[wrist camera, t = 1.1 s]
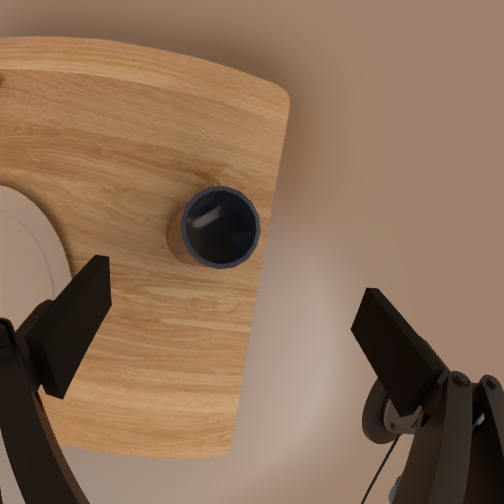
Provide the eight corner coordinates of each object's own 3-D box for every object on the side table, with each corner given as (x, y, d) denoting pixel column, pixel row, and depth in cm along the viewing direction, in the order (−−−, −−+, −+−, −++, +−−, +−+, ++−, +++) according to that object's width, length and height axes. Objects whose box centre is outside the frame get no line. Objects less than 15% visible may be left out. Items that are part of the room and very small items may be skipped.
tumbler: (214, 271, 35) (248, 277, 25) (159, 256, 33) (170, 255, 22) (229, 217, 36) (268, 202, 26) (176, 200, 33) (195, 175, 23)
